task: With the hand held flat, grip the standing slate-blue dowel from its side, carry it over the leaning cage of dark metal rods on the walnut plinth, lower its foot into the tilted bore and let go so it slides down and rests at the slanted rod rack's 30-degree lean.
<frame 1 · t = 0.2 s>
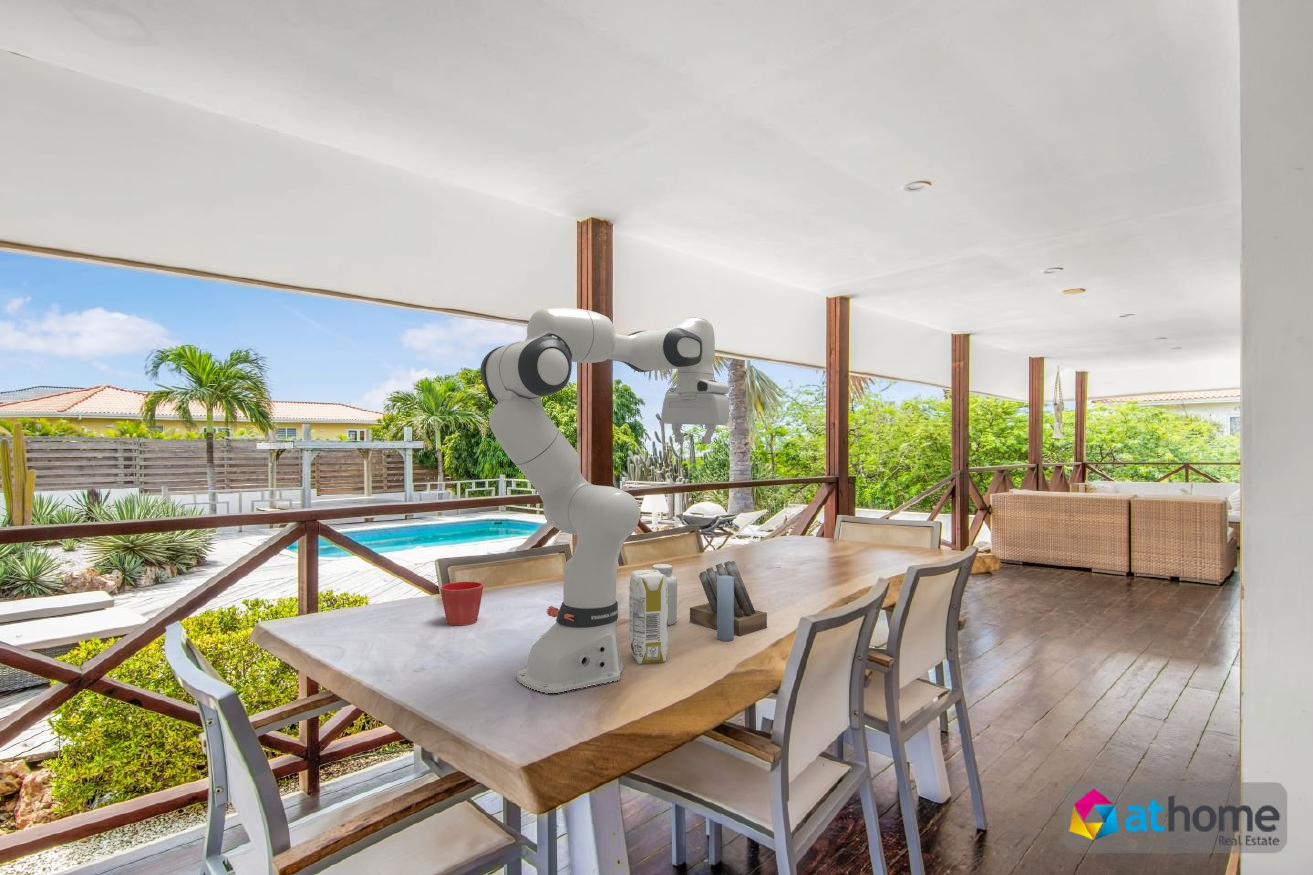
hand: (692, 443, 162), 48 cm above the table, tool pointing down, fingers open, 8 cm apart
peg: (725, 638, 163), on the table
flower pot: (461, 622, 177), on the table
slanted rod rack: (723, 623, 176), on the table
pill bottle: (661, 622, 177), on the table
juice carton: (648, 658, 149), on the table
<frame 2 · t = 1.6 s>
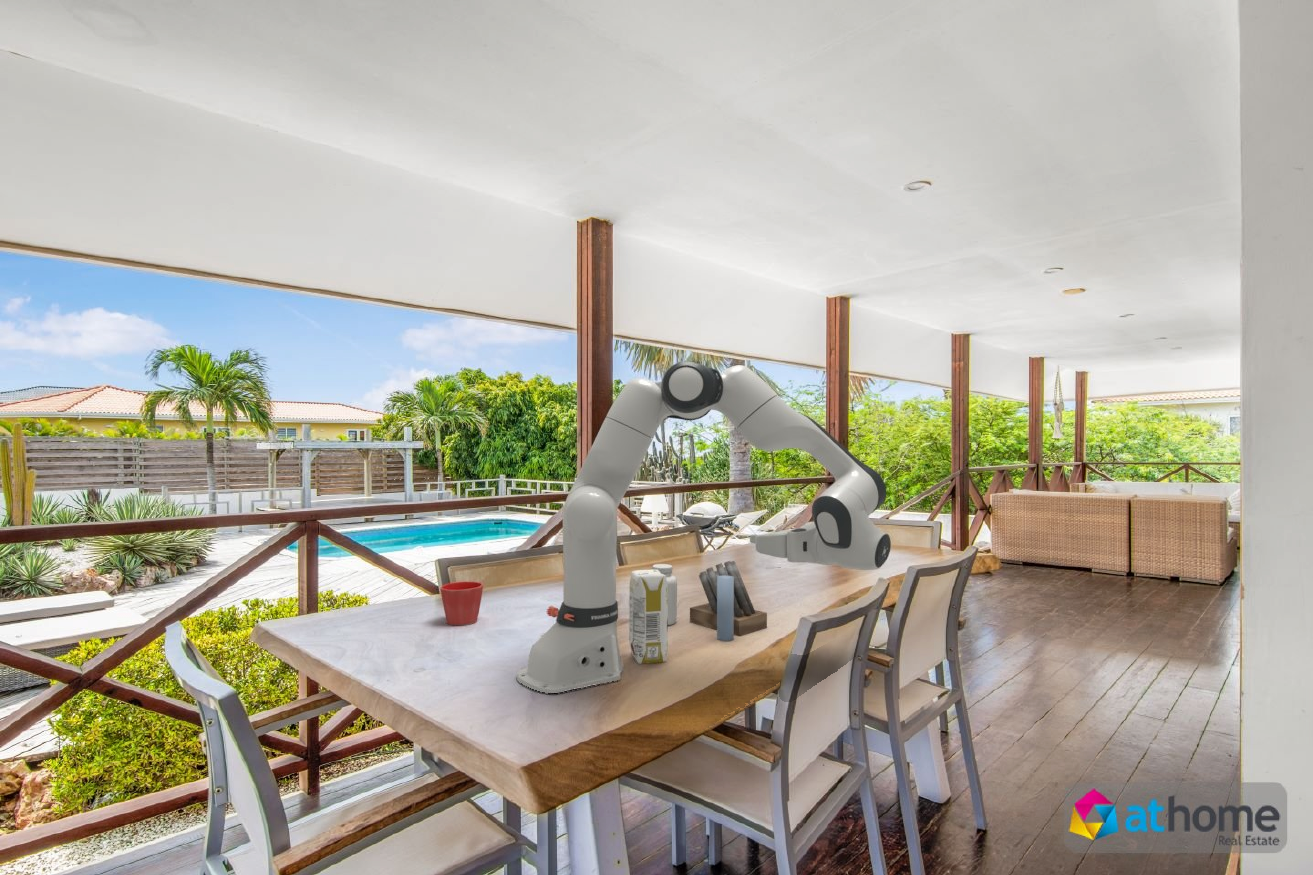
hand: (764, 536, 154), 26 cm above the table, tool horizontal, fingers open, 8 cm apart
nothing on the table moved.
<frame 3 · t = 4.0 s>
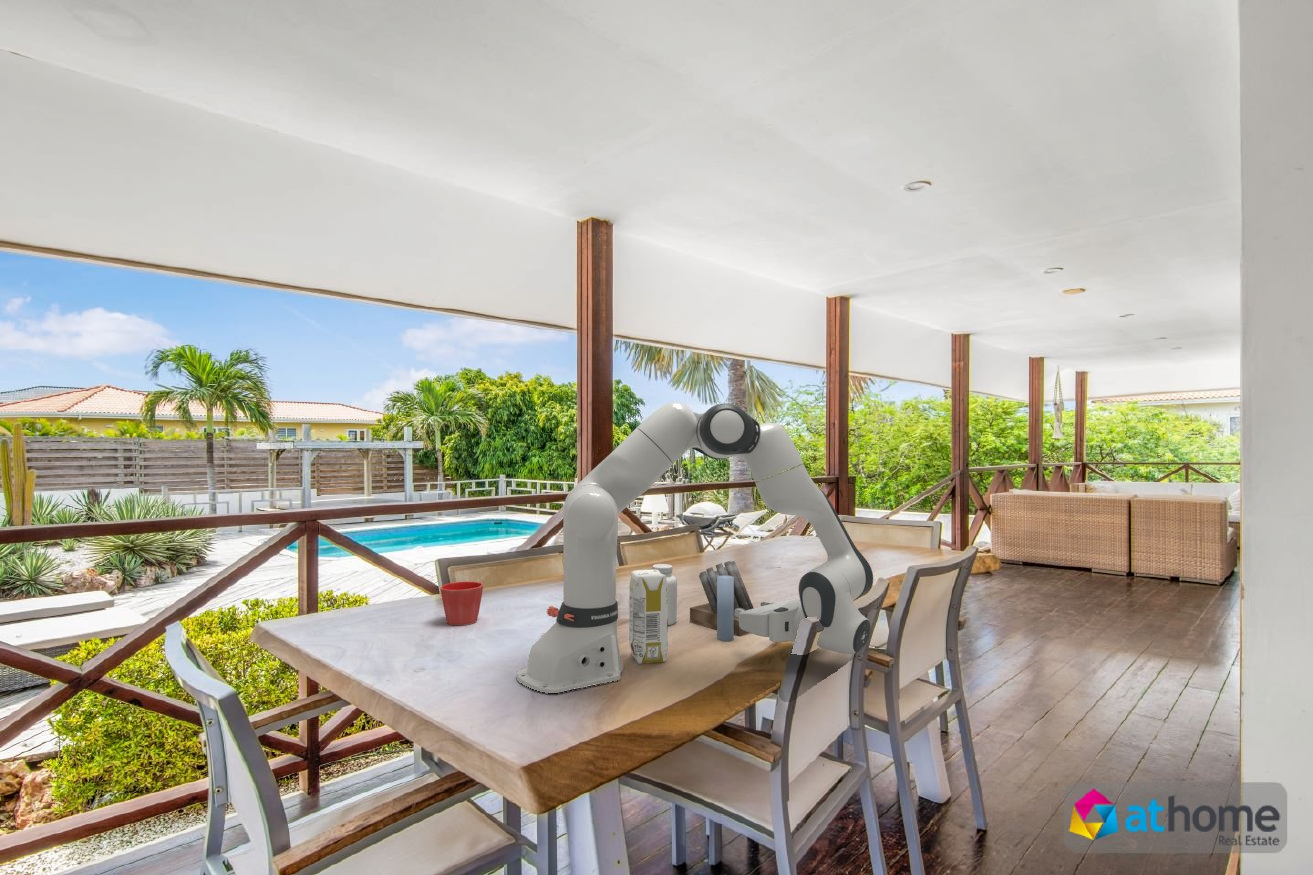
hand: (749, 608, 157), 9 cm above the table, tool horizontal, fingers open, 8 cm apart
nothing on the table moved.
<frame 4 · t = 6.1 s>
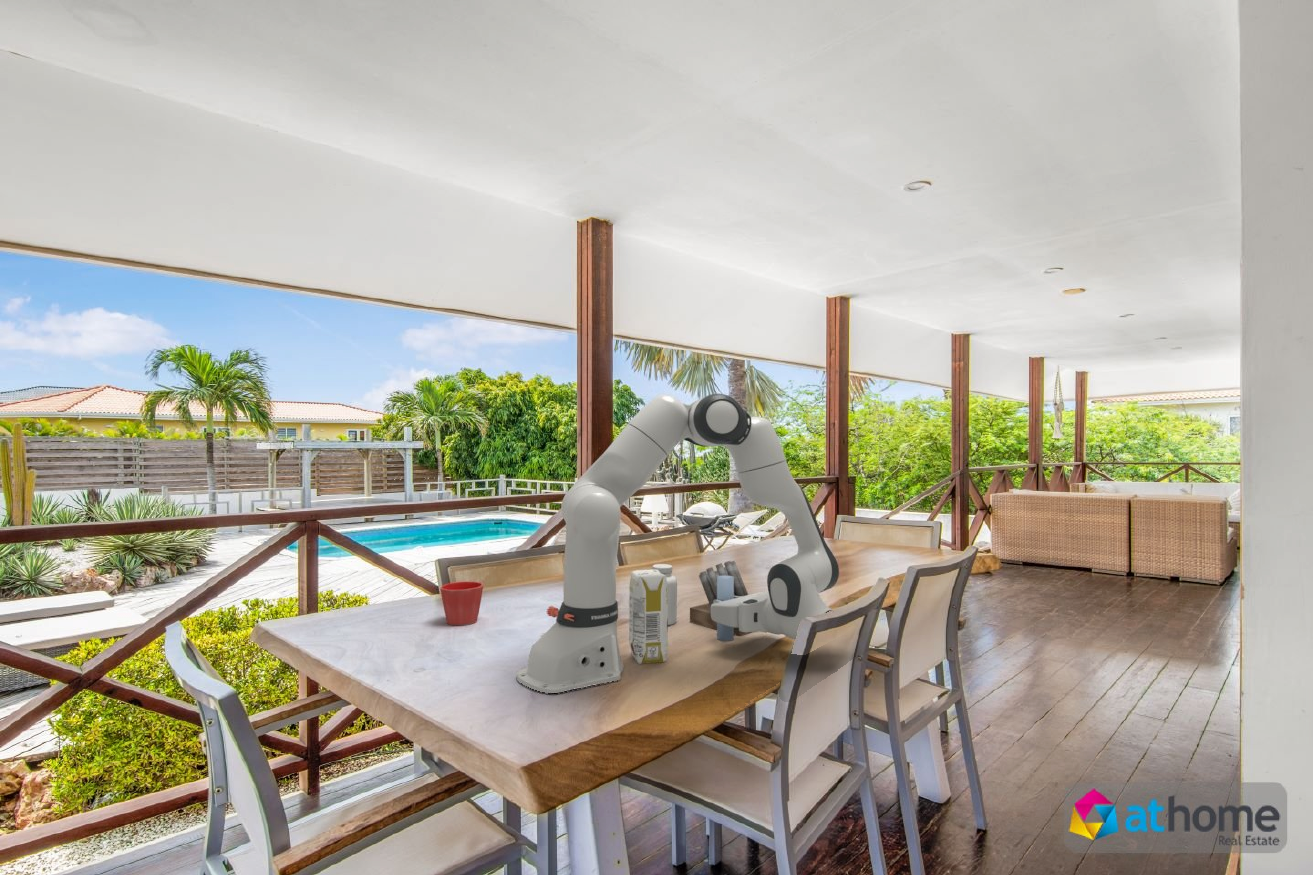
hand: (722, 600, 164), 9 cm above the table, tool horizontal, fingers closed on peg, 4 cm apart
peg: (725, 638, 163), on the table, touching gripper
everything else where it was.
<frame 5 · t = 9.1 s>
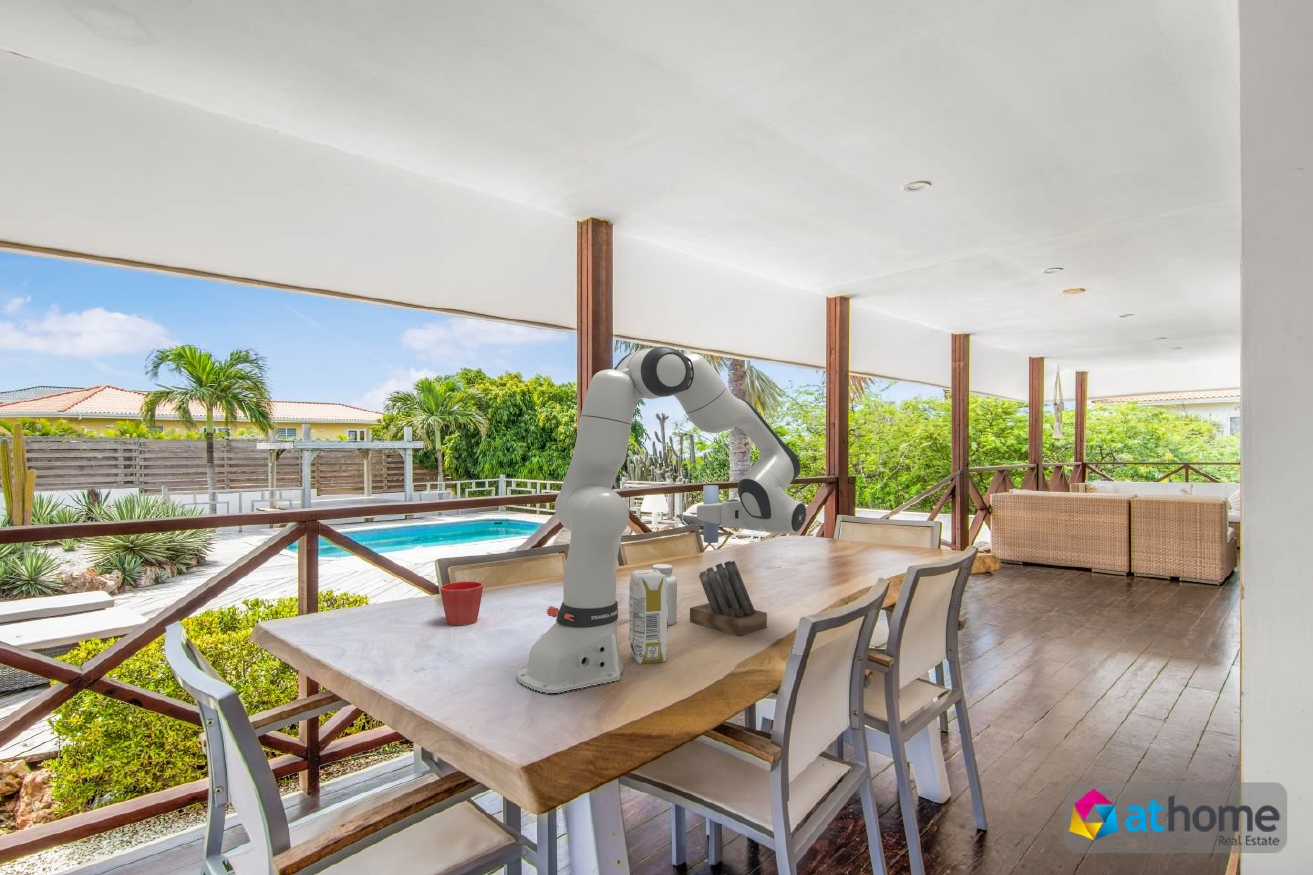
hand: (708, 507, 180), 30 cm above the table, tool horizontal, fingers closed on peg, 4 cm apart
peg: (710, 541, 179), point 21 cm above the table, touching gripper
everything else where it was.
when the fingers open (20 cm above the table, at t = 11.9 s): peg drops 6 cm and tips over, resting on slanted rod rack.
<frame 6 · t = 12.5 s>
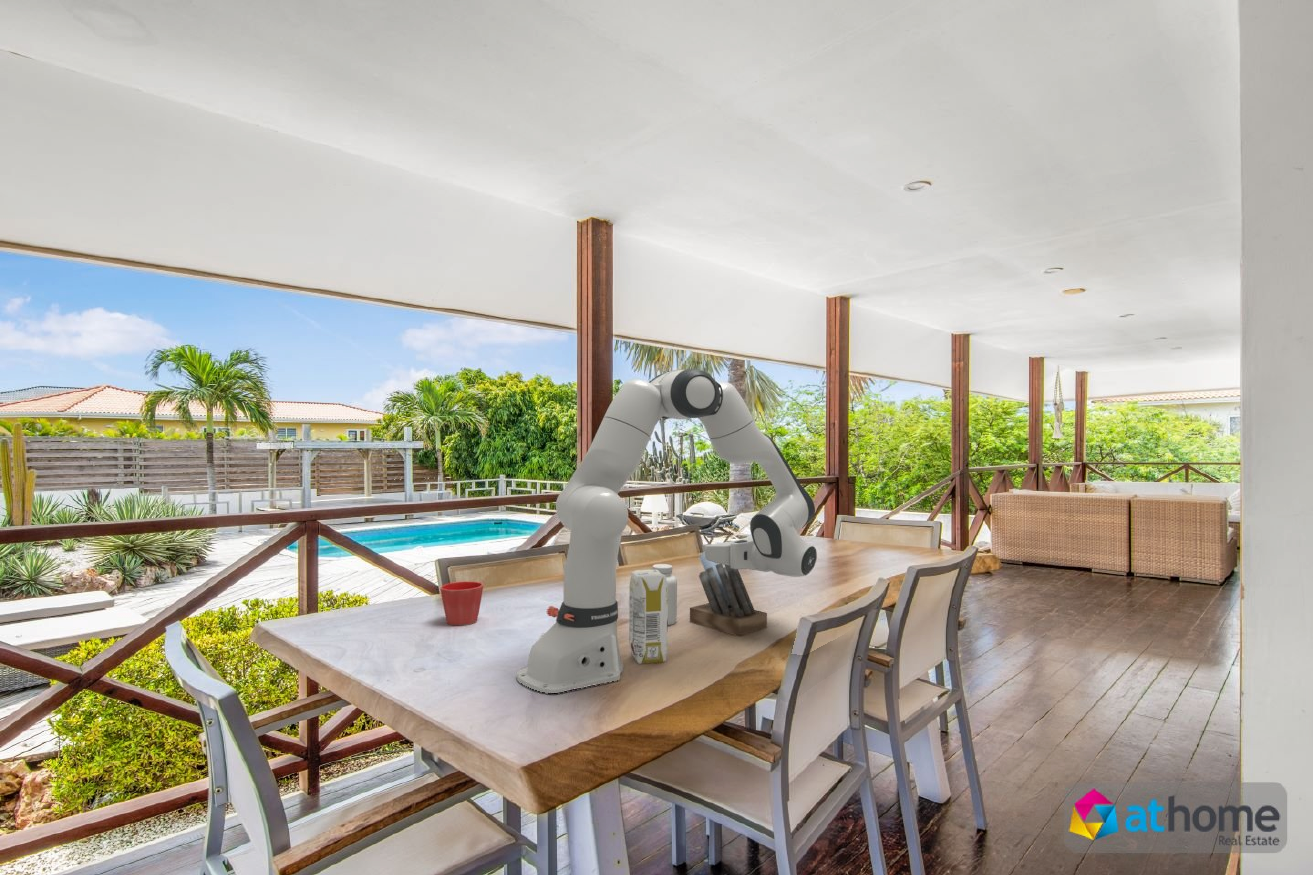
hand: (716, 545, 178), 20 cm above the table, tool horizontal, fingers open, 8 cm apart
peg: (727, 606, 175), point 5 cm above the table, tilted 31°, touching slanted rod rack
everything else where it was.
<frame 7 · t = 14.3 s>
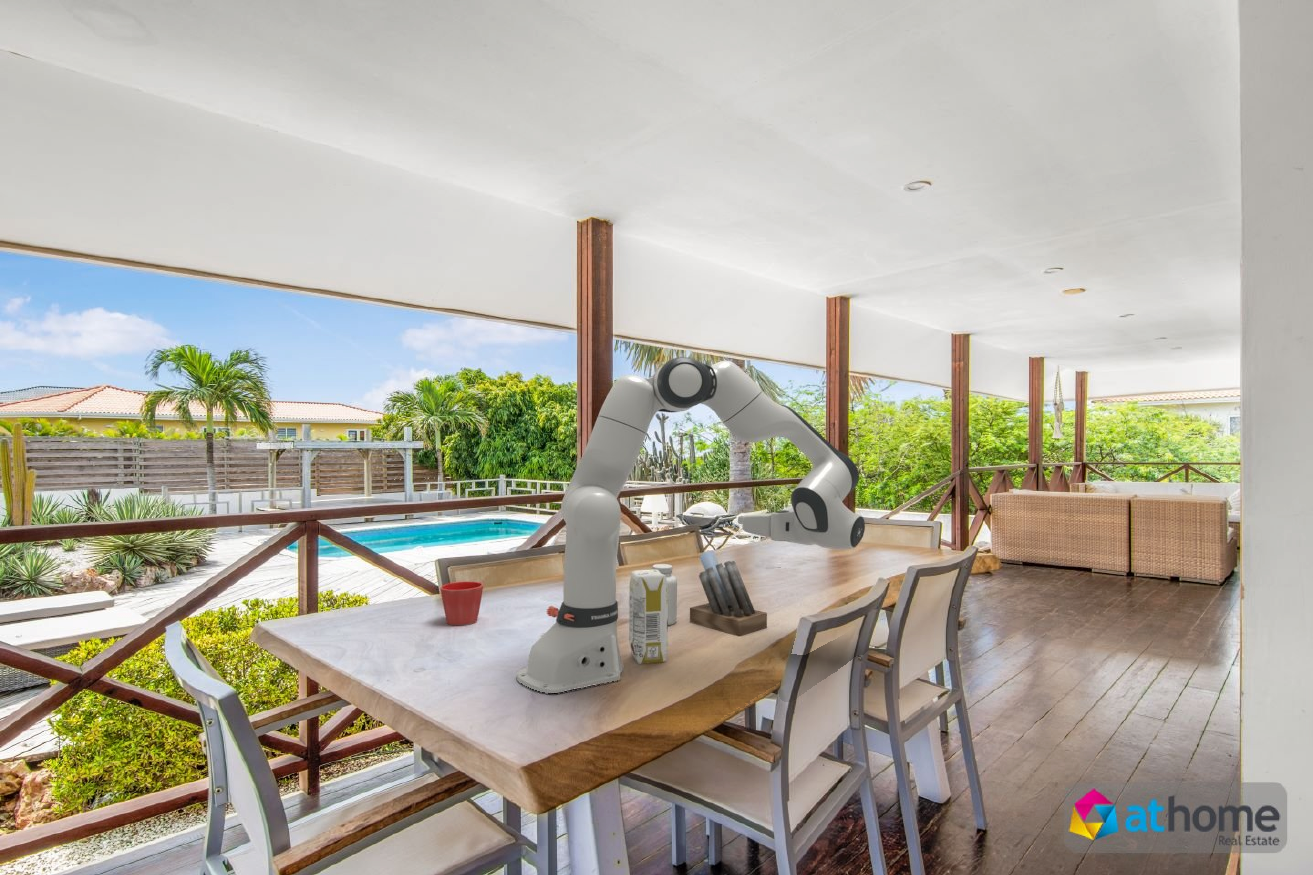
hand: (751, 518, 167), 29 cm above the table, tool horizontal, fingers open, 8 cm apart
nothing on the table moved.
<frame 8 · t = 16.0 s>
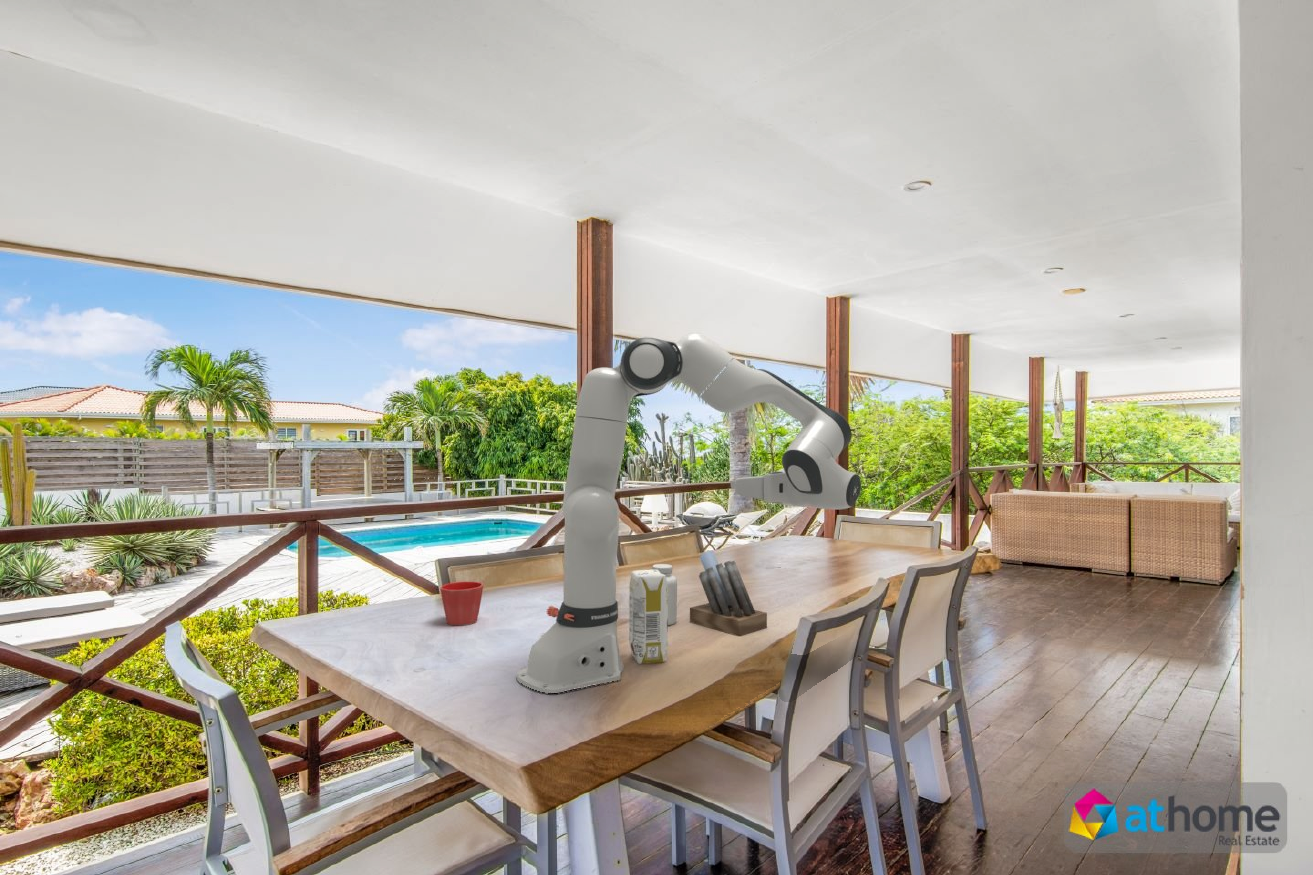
hand: (745, 483, 162), 38 cm above the table, tool horizontal, fingers open, 8 cm apart
nothing on the table moved.
at the end: peg inside the target area on the slanted rod rack (0.5 cm from its centre), point 4.8 cm above the slanted rod rack's base; peg tilted 31° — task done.
